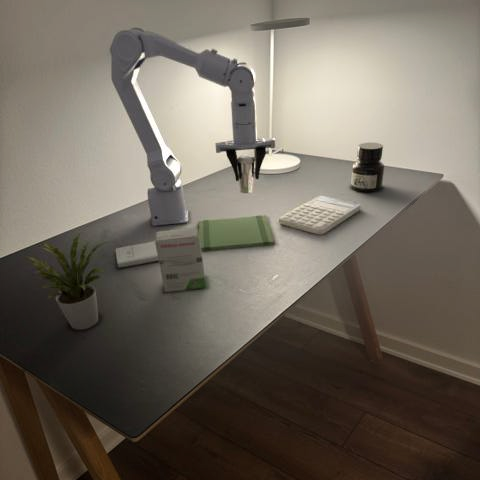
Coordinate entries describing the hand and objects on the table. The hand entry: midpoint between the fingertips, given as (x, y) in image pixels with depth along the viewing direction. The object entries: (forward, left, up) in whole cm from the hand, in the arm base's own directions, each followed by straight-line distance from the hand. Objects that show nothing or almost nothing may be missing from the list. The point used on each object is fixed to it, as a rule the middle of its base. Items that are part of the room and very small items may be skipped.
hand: (246, 178), depth 114 cm
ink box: (-16, -33, -11) cm, 38 cm away
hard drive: (-26, -18, -10) cm, 34 cm away
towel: (-4, -10, -10) cm, 15 cm away
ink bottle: (+37, +14, -10) cm, 41 cm away
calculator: (+19, -4, -10) cm, 22 cm away
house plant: (-34, -42, -10) cm, 55 cm away
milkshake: (0, 0, -4) cm, 4 cm away
